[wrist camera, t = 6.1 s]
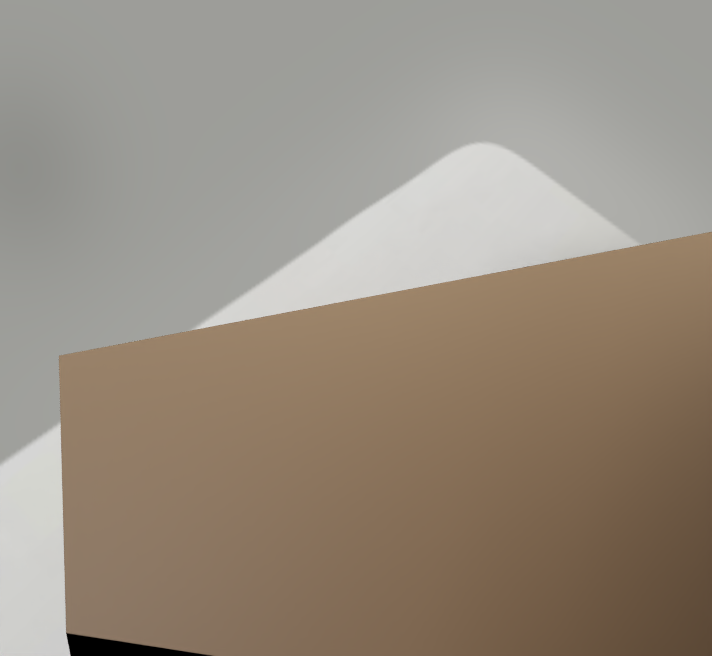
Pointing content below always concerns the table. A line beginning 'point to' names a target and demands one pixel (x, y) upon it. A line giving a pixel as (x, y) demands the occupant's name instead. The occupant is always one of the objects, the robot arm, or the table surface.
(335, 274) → the table surface
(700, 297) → the walnut column
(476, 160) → the table surface
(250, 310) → the table surface
